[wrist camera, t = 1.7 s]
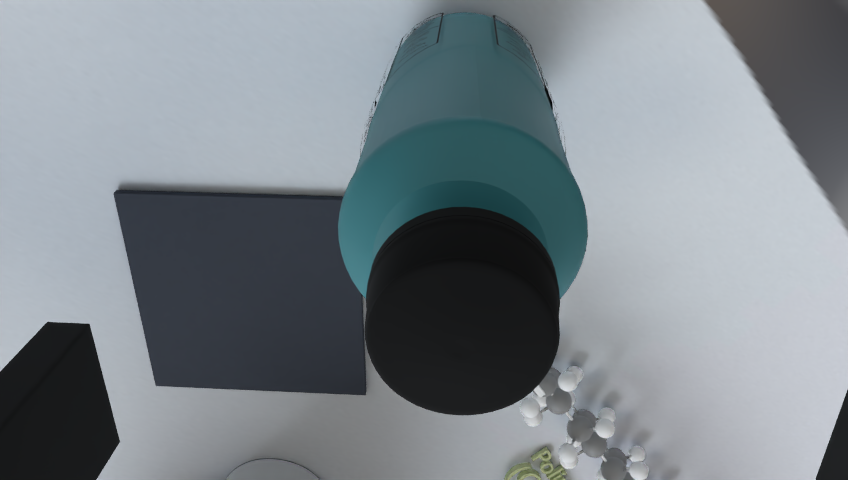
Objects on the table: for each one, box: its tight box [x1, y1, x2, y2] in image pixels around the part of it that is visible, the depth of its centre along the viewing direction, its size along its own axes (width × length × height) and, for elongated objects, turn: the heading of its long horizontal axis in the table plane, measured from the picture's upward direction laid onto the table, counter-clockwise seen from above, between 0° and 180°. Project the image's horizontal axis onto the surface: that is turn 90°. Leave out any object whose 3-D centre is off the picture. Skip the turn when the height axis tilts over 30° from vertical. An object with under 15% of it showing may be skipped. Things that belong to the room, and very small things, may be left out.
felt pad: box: [114, 190, 366, 395], centre depth 37 cm, size 12×12×1 cm
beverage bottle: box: [338, 12, 588, 415], centre depth 23 cm, size 6×7×20 cm
